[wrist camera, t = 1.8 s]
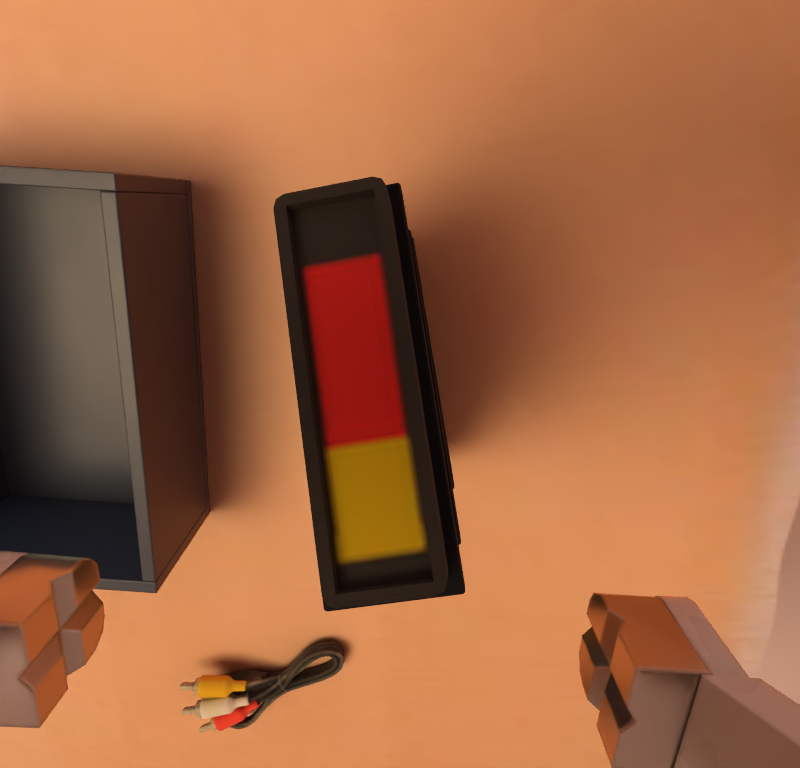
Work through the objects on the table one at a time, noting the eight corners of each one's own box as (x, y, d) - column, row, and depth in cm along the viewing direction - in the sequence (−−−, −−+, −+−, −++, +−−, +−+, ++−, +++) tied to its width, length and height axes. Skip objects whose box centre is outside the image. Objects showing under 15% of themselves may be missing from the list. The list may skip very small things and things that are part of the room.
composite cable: (338, 631, 32) (332, 665, 30) (361, 691, 34) (357, 728, 31) (186, 662, 33) (168, 697, 31) (214, 719, 35) (200, 757, 32)
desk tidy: (-57, 164, 24) (-217, 151, 18) (190, 180, 24) (114, 172, 18) (8, 499, 30) (-98, 576, 24) (210, 512, 30) (156, 593, 24)
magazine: (388, 532, 28) (312, 626, 13) (353, 287, 30) (251, 126, 15) (460, 521, 28) (466, 607, 13) (421, 275, 29) (385, 98, 14)
